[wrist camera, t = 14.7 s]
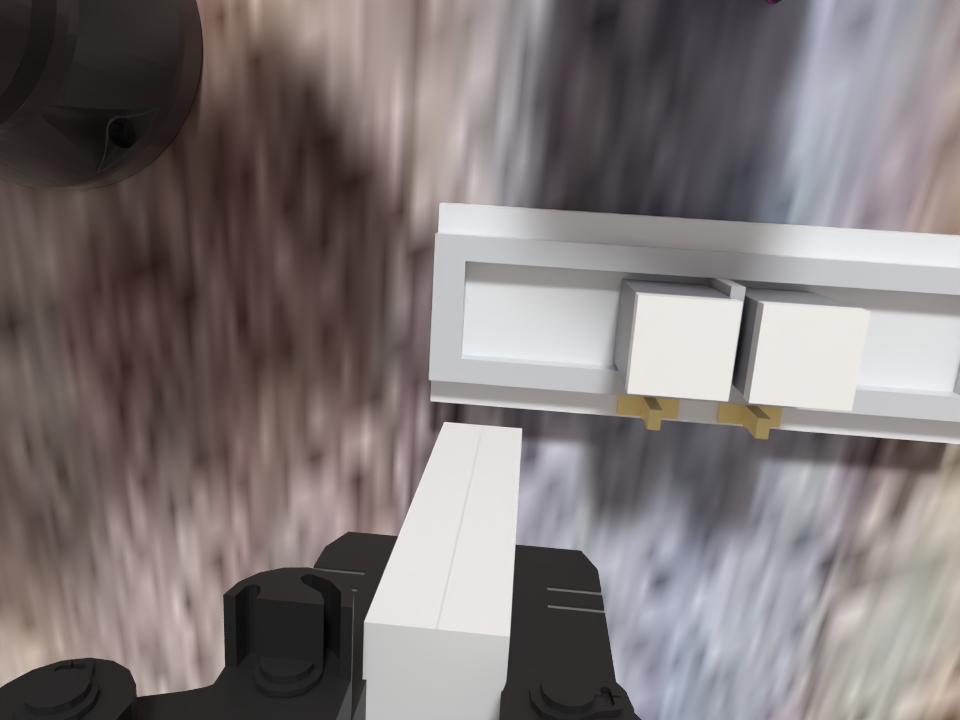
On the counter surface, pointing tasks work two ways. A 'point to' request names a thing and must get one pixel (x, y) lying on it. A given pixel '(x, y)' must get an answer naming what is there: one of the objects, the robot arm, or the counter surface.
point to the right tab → (799, 349)
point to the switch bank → (686, 259)
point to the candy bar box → (773, 1)
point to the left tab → (676, 339)
